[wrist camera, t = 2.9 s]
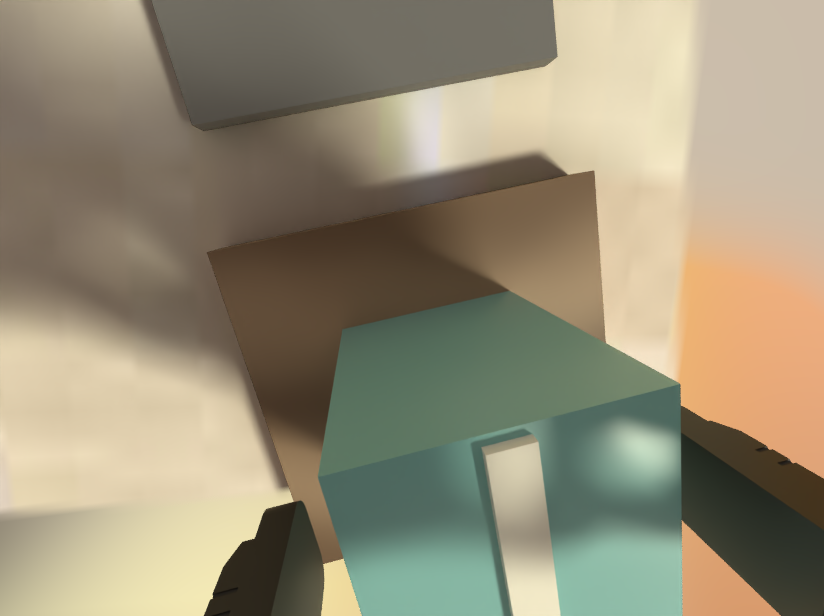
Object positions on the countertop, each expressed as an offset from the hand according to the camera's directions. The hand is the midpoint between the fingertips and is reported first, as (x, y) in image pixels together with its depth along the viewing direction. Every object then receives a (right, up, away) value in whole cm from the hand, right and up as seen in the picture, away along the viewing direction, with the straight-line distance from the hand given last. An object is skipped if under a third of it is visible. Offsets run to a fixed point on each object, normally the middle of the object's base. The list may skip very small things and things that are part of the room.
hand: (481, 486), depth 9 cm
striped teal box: (-1, +1, +4) cm, 5 cm away
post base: (-1, +2, +6) cm, 6 cm away
